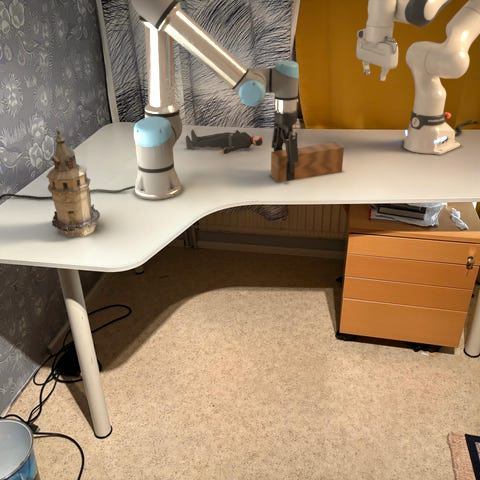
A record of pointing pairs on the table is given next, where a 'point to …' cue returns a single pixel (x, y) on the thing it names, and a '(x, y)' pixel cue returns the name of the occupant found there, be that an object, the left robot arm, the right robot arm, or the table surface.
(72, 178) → the miniature building
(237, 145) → the toy
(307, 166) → the bar
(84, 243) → the table surface
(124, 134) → the table surface
